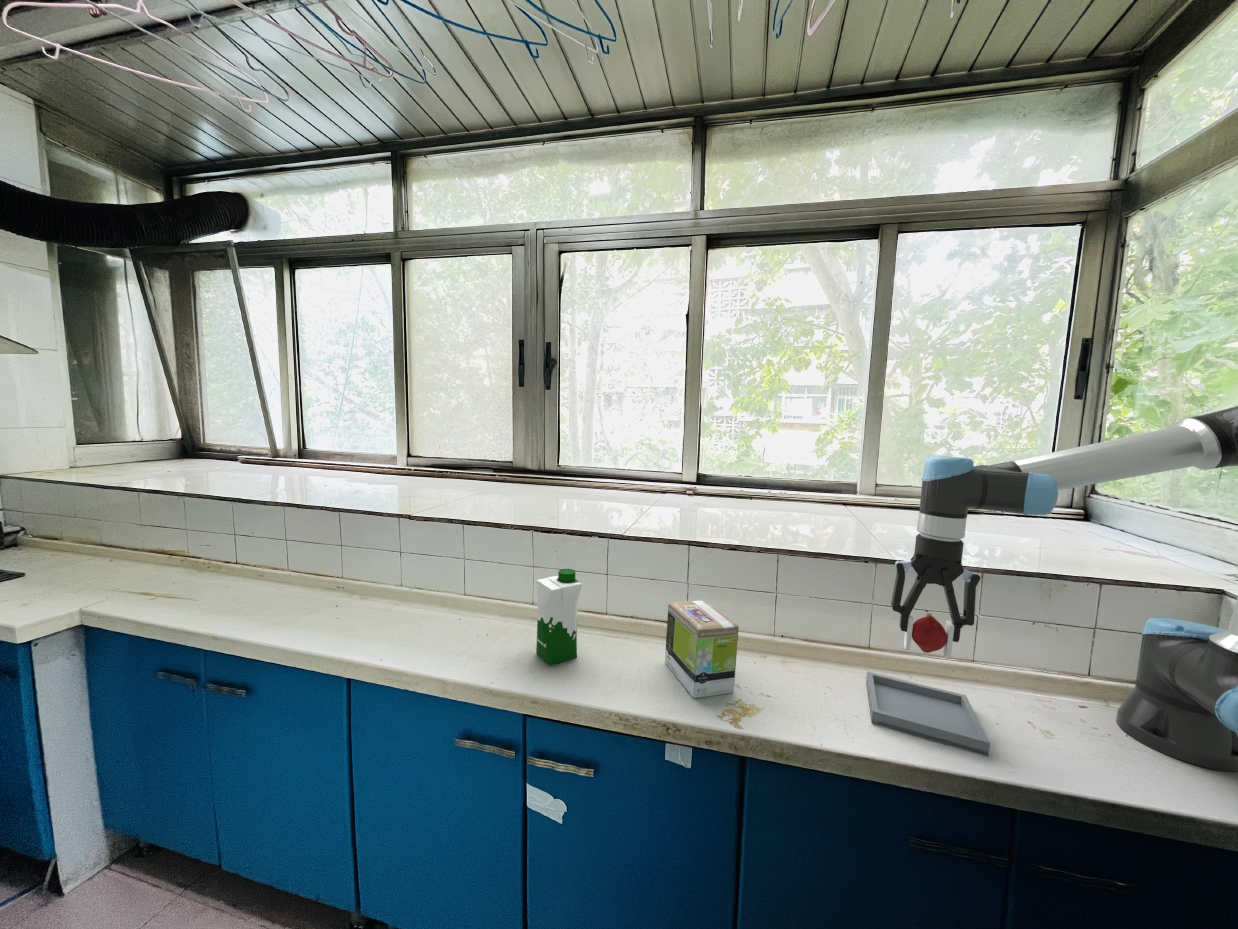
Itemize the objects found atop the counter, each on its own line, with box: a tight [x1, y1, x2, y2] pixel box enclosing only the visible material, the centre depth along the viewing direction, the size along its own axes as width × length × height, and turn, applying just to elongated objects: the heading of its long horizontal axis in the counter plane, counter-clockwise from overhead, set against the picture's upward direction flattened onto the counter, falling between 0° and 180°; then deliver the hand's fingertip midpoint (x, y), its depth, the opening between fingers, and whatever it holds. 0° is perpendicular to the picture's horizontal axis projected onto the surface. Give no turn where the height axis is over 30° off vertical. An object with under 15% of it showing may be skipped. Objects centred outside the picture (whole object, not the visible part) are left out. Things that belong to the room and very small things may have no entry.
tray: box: [865, 671, 991, 757], centre depth 90 cm, size 18×16×2 cm
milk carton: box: [535, 568, 583, 667], centre depth 106 cm, size 9×9×20 cm
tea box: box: [664, 599, 740, 699], centre depth 100 cm, size 15×10×15 cm
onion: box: [911, 612, 947, 654], centre depth 89 cm, size 6×6×8 cm
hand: (926, 651), depth 89 cm, fingers closed on onion, 6 cm apart
